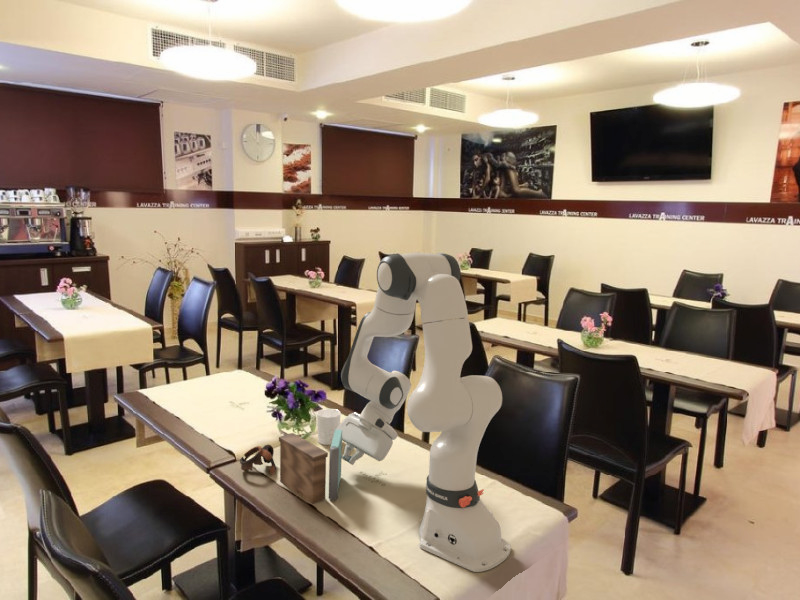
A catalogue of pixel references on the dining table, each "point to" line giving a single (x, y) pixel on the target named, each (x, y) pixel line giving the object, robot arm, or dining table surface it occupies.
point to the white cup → (327, 425)
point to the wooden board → (303, 467)
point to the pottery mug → (259, 458)
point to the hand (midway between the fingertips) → (346, 461)
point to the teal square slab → (335, 464)
